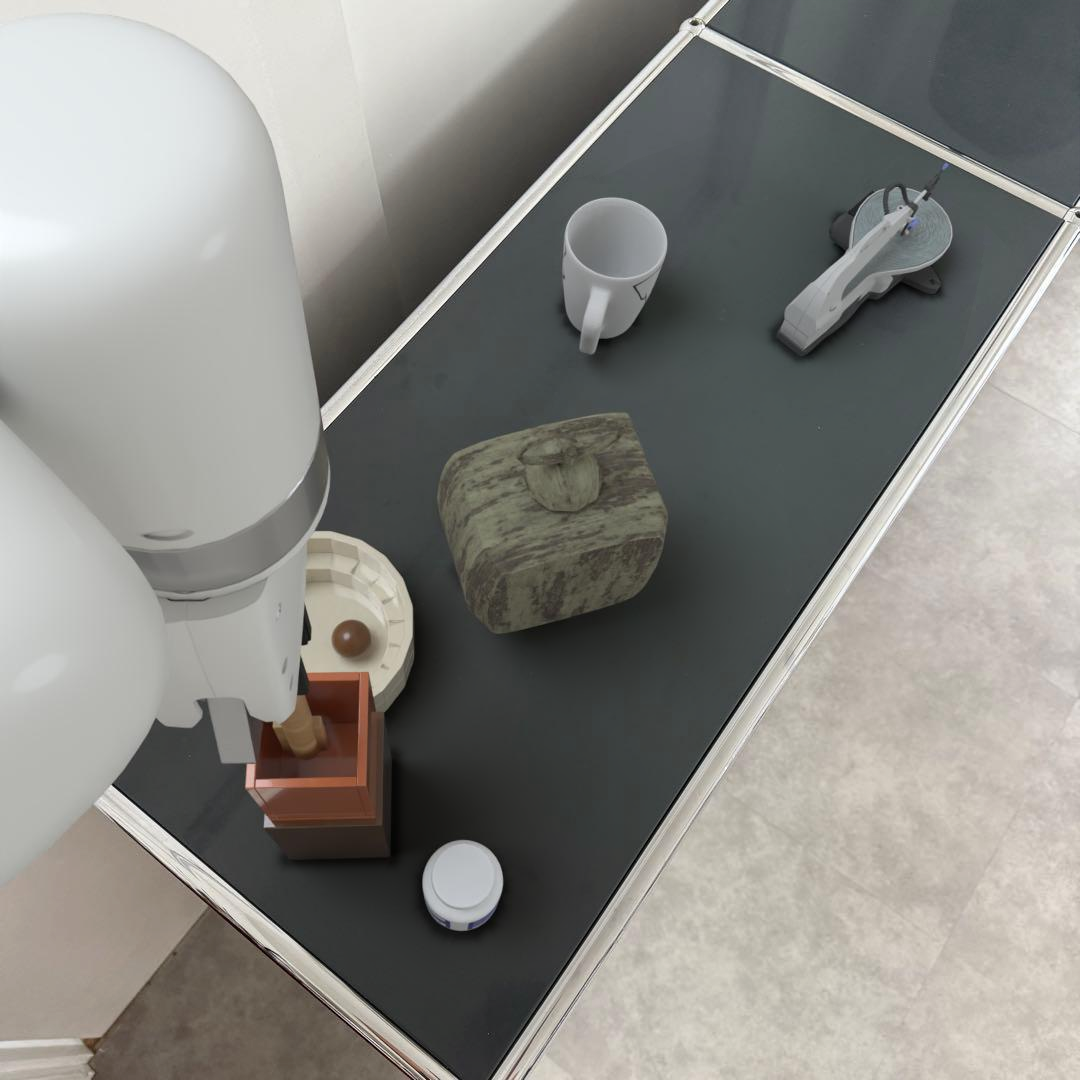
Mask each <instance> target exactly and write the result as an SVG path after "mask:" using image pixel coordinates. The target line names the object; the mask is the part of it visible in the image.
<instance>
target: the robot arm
mask: <svg viewBox="0 0 1080 1080" xmlns="http://www.w3.org/2000/svg"><path fill="white" fill-rule="evenodd" d="M280 171H281V170H280V167H279V164H278V159H277V155H276V151H275V147H274V145H273V141H272V138H271V135H270V134H269V131H268V128H267V126H266V125H265V123H264V121H263V119H262V117H261V115H260V114H259V111H258V109H257V108H256V106H255V103H254V102H253V101H252V100H251V99H250V97H249V96H248V95H247V93H246V92H245V91H244V90H243V89H242V87H241V86H240V84H239V83H238V82H237V81H236V80H235V79H234V77H233V76H232V75H231V74H230V72H228V71H227V70H226V69H225V68H224V67H223V66H222V65H220V63H218V62H217V61H216V60H215V59H214V58H213V57H211V56H210V55H208V54H207V53H205V52H204V51H203V50H201V49H200V48H198V47H196V46H194V45H193V44H191V43H189V42H187V41H186V40H184V39H182V38H181V37H180V36H178V35H176V34H174V33H172V32H170V31H166V30H164V29H161V28H160V27H157V26H154V25H152V24H149V23H147V22H143V21H138V20H135V19H131V18H126V17H121V16H118V15H113V14H103V13H89V12H61V13H59V12H57V13H55V12H54V13H46V14H38V15H32V16H25V17H19V18H16V19H12V20H8V21H4V22H0V891H2V890H3V889H4V888H5V887H7V885H9V884H10V883H11V882H12V881H13V880H15V878H17V877H18V876H19V875H20V874H21V873H23V872H24V871H25V870H26V869H27V868H29V867H30V866H31V865H32V864H33V863H34V862H35V861H37V860H38V859H39V858H40V857H41V856H42V855H44V854H45V853H46V852H47V851H48V850H49V849H50V848H51V847H52V846H53V845H54V844H55V843H56V842H57V841H58V840H59V839H60V838H61V837H62V836H63V835H64V834H65V833H67V831H68V830H69V829H70V828H71V827H72V826H73V825H74V824H76V822H77V821H78V820H79V819H80V818H81V817H83V815H84V814H85V813H86V812H87V811H88V810H90V809H91V808H92V806H94V804H95V803H96V802H97V801H98V800H100V799H101V797H102V796H103V795H104V794H105V793H106V791H108V789H109V788H111V786H112V785H113V784H114V782H115V781H116V780H117V779H118V777H119V776H120V775H121V774H122V773H123V772H124V770H125V769H126V767H127V766H128V764H129V763H130V762H131V760H132V759H133V758H134V756H135V754H136V753H137V751H138V750H139V749H140V747H141V745H142V743H143V742H144V741H145V739H146V738H147V736H148V734H149V732H150V730H151V729H152V727H153V724H154V722H155V720H156V719H157V721H159V723H161V725H164V726H165V727H171V728H183V729H193V728H194V727H195V726H196V725H197V724H198V723H199V722H200V721H201V720H202V718H203V713H204V711H203V709H202V707H201V706H200V704H199V702H207V707H208V711H209V716H210V720H211V725H212V729H213V733H214V737H215V742H216V746H217V750H218V755H219V759H220V763H221V765H247V764H257V763H258V758H259V751H260V743H261V735H262V728H263V722H262V721H265V722H271V721H275V722H276V724H281V723H282V722H284V721H285V720H286V719H287V718H288V717H289V716H290V715H291V714H292V713H293V712H294V710H295V706H296V699H297V695H306V694H308V693H309V679H308V676H307V673H306V670H305V667H304V663H303V660H302V657H301V646H304V645H307V644H308V641H310V640H311V633H312V627H311V624H310V620H309V617H308V613H307V609H306V606H305V586H306V558H307V541H308V540H309V539H310V537H311V536H312V534H313V533H314V531H316V529H317V527H318V525H319V523H320V521H321V520H322V518H323V517H322V516H323V514H324V513H325V509H326V506H327V504H328V497H329V492H330V487H331V465H330V459H329V453H328V447H327V441H326V435H325V434H326V433H325V428H324V422H323V416H322V410H321V403H320V399H319V398H320V397H319V395H318V387H317V381H316V375H315V370H314V363H313V359H312V352H311V347H310V341H309V333H308V329H307V328H308V327H307V323H306V316H305V311H304V305H303V299H302V292H301V285H300V281H299V275H298V270H297V269H298V268H297V263H296V258H295V257H296V256H295V252H294V251H295V250H294V245H293V241H292V239H293V238H292V234H291V227H290V221H289V215H288V210H287V203H286V197H285V191H284V185H283V180H282V176H281V172H280Z"/></svg>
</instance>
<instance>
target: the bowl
mask: <svg viewBox="0 0 1080 1080" xmlns="http://www.w3.org/2000/svg"><path fill="white" fill-rule="evenodd" d="M305 606H306V609H307V613H308V617H309V620H310V624H311V627H312V633H311V640H310V641H308V644H307V645H304V646H301V657H302V660H303V663H304V667H305V670H306V673H315V672H359V673H360V672H369V676H370V681H371V687H372V692H373V697H374V703H375V708H376V712H384V713H385V712H386V711H387V710H388V709H390V707H391V705H392V704H393V703H394V701H395V700H396V698H398V697H399V695H400V694H401V692H402V691H403V690H404V688H405V687H406V684H407V681H408V678H409V675H410V673H411V669H412V666H413V665H414V661H415V620H414V618H415V617H414V605H413V602H412V599H411V597H410V594H409V591H408V588H407V585H406V582H405V580H404V578H403V576H402V575H401V574H400V573H399V571H398V570H397V569H396V567H395V566H394V565H393V563H392V562H391V561H390V560H389V558H388V557H387V556H386V555H385V554H383V553H382V552H380V551H379V550H377V549H376V548H375V547H373V546H371V545H370V544H368V543H367V542H365V541H364V540H362V539H359V538H357V537H352V536H349V535H346V534H343V533H338V532H335V531H331V530H315V531H314V533H313V534H312V536H311V537H310V539H309V540H308V541H307V558H306V586H305ZM350 619H354V620H359V621H361V622H363V623H364V624H365V625H366V626H367V627H368V628H369V630H370V632H371V635H372V644H371V647H370V649H369V651H368V652H367V653H366V654H365V655H364V656H363V657H361V658H359V659H355V660H348V659H344V658H342V657H340V656H339V655H338V654H337V653H336V652H335V651H334V649H333V647H332V643H331V636H332V633H333V631H334V629H335V627H336V626H337V625H338V624H340V623H341V622H343V621H345V620H350Z"/></svg>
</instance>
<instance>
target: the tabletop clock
mask: <svg viewBox="0 0 1080 1080" xmlns="http://www.w3.org/2000/svg"><path fill="white" fill-rule="evenodd" d="M436 501H437V502H436V503H437V507H438V513H439V514H438V515H439V519H440V521H441V525H442V528H443V531H444V535H445V537H446V541H447V545H448V547H449V550H450V554H451V558H452V561H453V564H454V567H455V571H456V574H457V578H458V581H459V584H460V587H461V591H462V593H463V597H464V601H465V603H466V606H467V608H468V611H469V612H470V613H471V615H473V616H474V617H475V618H476V619H477V620H478V621H479V622H480V623H482V624H483V625H484V626H485V627H486V628H487V629H488V630H489V631H490V632H491V633H493V634H495V635H500V634H507V633H513V632H518V631H522V630H526V629H530V628H533V627H537V626H542V625H546V624H550V623H554V622H557V621H561V620H565V619H569V618H573V617H576V616H580V615H583V614H586V613H590V612H593V611H597V610H600V609H604V608H607V607H611V606H614V605H617V604H619V603H622V602H625V601H627V600H630V599H632V598H634V597H635V596H636V595H638V593H640V592H641V591H642V590H643V589H644V588H645V586H646V585H647V583H648V581H649V580H650V578H651V577H652V575H653V573H654V572H655V570H656V568H657V566H658V563H659V561H660V558H661V555H662V552H663V549H664V545H665V538H666V533H667V527H668V521H669V514H668V510H667V507H666V504H665V502H664V500H663V496H662V495H661V491H660V489H659V486H658V485H657V482H656V480H655V477H654V474H653V472H652V468H651V466H650V464H649V461H648V458H647V455H646V453H645V451H644V449H643V445H642V444H641V441H640V438H639V436H638V433H637V430H636V428H635V426H634V422H633V421H632V419H631V417H630V415H629V414H628V412H605V413H597V414H591V415H585V416H580V417H576V418H570V419H565V420H561V421H560V420H559V421H555V422H550V423H545V424H541V425H537V426H532V427H529V428H525V429H522V430H518V431H514V432H510V433H507V434H503V435H500V436H496V437H492V438H489V439H486V440H483V441H480V442H477V443H473V444H471V445H469V446H467V447H465V448H462V449H460V450H458V451H455V452H453V454H452V455H451V456H450V457H449V460H447V462H446V463H445V464H444V467H443V469H442V471H441V473H440V477H439V483H438V488H437V495H436Z"/></svg>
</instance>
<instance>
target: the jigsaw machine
mask: <svg viewBox="0 0 1080 1080" xmlns="http://www.w3.org/2000/svg"><path fill="white" fill-rule="evenodd" d="M948 167H949V164H948V163H947V162H945V163H944V164H943V165H942V168H941V170H940V171H939V173H938V174H935V175H934V177H932V179H930V180H929V181H928V182H926V183H925V185H924V187H923V189H922V190H921V191H918V190H916V189H913V188H907V187H906V185H905V184H904V183H902V182H901V181H899V180H896V181H895V182H892V183H891V184H890V185H888V186H887V187H886V188H882V189H879V190H877V191H874V190H871V191H870V192H869V193H868V194H866V195H865V196H864V197H863V198H862V199H861V200H860V201H858V202H857V203H856V204H854V206H853V207H852V208H850V209H849V210H848V211H846V212H844V213H843V214H841V215H839V216H838V217H837V218H836V219H835V221H834V222H833V223H832V224H831V226H830V228H829V230H828V233H829V238H830V240H831V241H833V242H834V243H835V244H836V245H837V246H839V247H840V248H841V249H842V250H844V251H845V253H844V254H843V255H842V256H841V257H840V258H839V259H838V260H836V262H834V263H833V264H832V265H830V266H829V267H828V268H827V269H826V270H825V271H824V272H823V273H822V274H821V275H820V276H818V277H817V278H816V279H815V280H814V281H812V282H810V283H809V284H808V285H807V286H806V287H805V288H804V289H802V291H801V292H800V293H799V294H798V295H796V297H795V298H794V299H793V300H792V301H791V302H789V304H787V306H786V308H785V309H784V313H783V314H784V315H783V316H784V317H783V318H784V320H783V322H782V324H781V326H780V327H779V328H778V329H777V332H776V334H775V338H776V339H778V340H779V341H780V342H781V343H783V345H785V346H786V347H788V348H789V349H790V351H792V352H794V353H795V354H796V355H797V356H799V357H805V356H806V355H808V354H809V353H810V352H812V351H813V350H814V349H815V348H816V347H817V346H818V345H819V344H820V343H821V342H822V341H824V339H826V338H827V337H829V336H830V335H832V334H833V333H834V332H837V330H838V329H840V328H842V326H843V325H845V324H846V323H847V322H848V321H849V320H850V318H852V316H853V315H854V314H855V313H856V312H857V310H858V309H859V307H860V306H861V305H862V304H863V303H864V302H865V301H867V300H868V299H869V300H875V301H877V300H880V299H881V298H882V297H884V296H885V295H886V294H887V293H888V292H889V291H891V289H893V288H894V287H895V286H896V285H898V284H899V283H901V282H902V283H903V284H906V285H908V286H910V287H911V288H914V289H915V290H918V291H920V292H923V293H925V294H929V295H934V294H936V293H937V291H938V290H939V289H940V287H941V285H942V284H941V281H940V279H939V277H938V275H937V274H936V272H935V271H934V269H933V268H932V266H931V265H933V264H934V263H935V262H937V261H938V260H939V259H940V258H942V256H943V255H944V254H945V253H946V251H947V250H948V249H949V248H950V245H951V243H952V239H953V225H952V223H951V220H950V217H949V215H948V214H947V212H946V211H945V209H944V208H943V207H942V206H941V205H940V204H939V203H938V202H937V201H935V200H934V199H933V198H932V197H931V196H932V191H934V189H935V187H936V185H937V184H938V182H939V180H940V179H941V175H942V173H943V172H944V171H945V170H946V169H947V168H948Z"/></svg>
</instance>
